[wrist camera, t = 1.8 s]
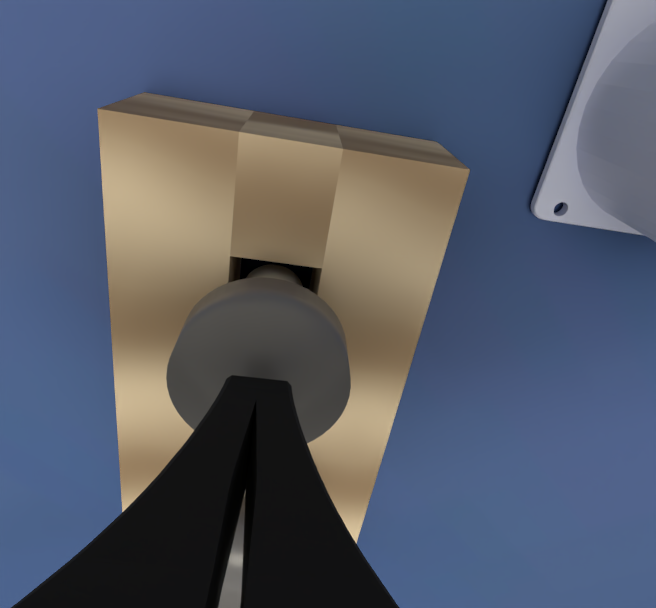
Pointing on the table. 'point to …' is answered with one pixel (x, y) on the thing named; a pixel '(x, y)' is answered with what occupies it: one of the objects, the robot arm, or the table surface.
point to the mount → (268, 258)
